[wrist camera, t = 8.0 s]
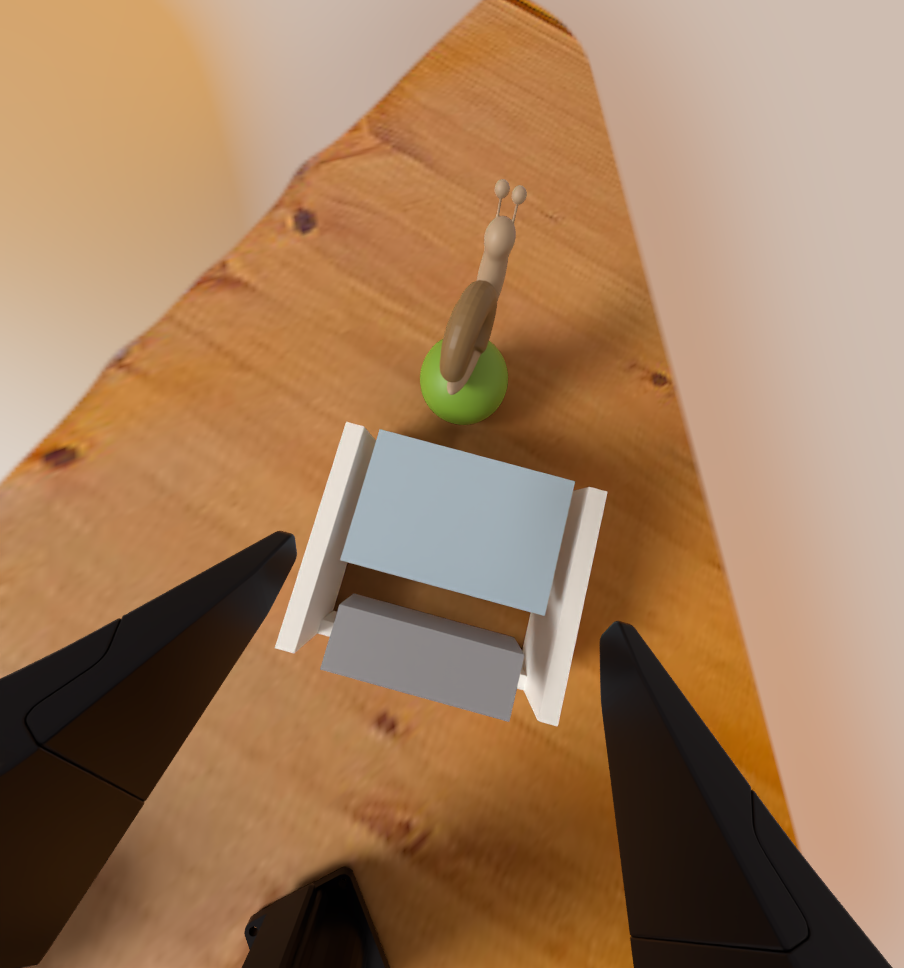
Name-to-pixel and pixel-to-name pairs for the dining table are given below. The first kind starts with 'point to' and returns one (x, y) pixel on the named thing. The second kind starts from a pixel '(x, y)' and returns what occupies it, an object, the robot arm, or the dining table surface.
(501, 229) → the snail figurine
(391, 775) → the dining table surface
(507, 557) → the trapdoor
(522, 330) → the dining table surface
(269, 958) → the robot arm
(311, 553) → the frame
